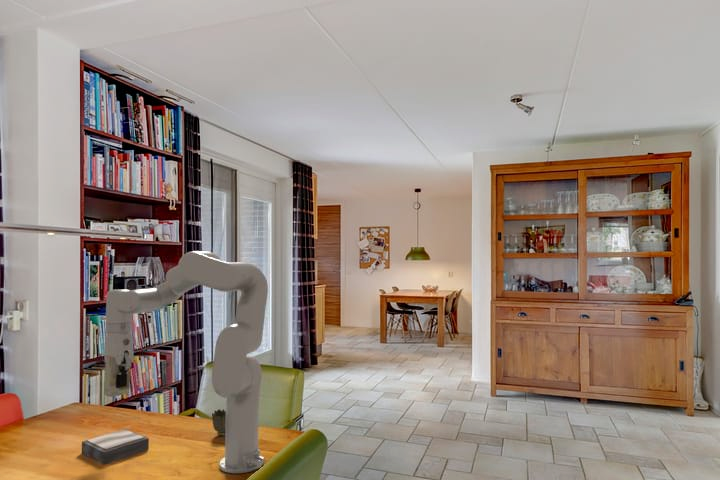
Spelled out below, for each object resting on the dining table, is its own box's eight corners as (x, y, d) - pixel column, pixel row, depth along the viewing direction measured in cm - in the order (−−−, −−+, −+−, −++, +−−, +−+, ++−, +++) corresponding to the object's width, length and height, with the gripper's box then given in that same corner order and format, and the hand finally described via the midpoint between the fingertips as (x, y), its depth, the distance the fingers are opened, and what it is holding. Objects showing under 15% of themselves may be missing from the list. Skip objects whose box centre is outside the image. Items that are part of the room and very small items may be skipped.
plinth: (148, 449, 151) (148, 436, 151) (103, 464, 140) (104, 450, 140) (125, 439, 159) (125, 427, 160) (81, 453, 148) (82, 440, 148)
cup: (227, 440, 159) (227, 416, 160) (207, 438, 161) (207, 414, 161) (237, 432, 167) (237, 409, 167) (218, 430, 168) (218, 408, 169)
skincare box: (109, 397, 147) (111, 358, 147) (103, 395, 149) (104, 356, 150) (130, 393, 152) (131, 354, 152) (123, 390, 154) (124, 353, 155)
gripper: (144, 329, 150) (142, 387, 149) (117, 324, 159) (115, 379, 159) (120, 331, 144) (118, 392, 143) (93, 327, 153) (92, 384, 152)
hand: (117, 385), depth 151 cm, fingers closed on skincare box, 4 cm apart
